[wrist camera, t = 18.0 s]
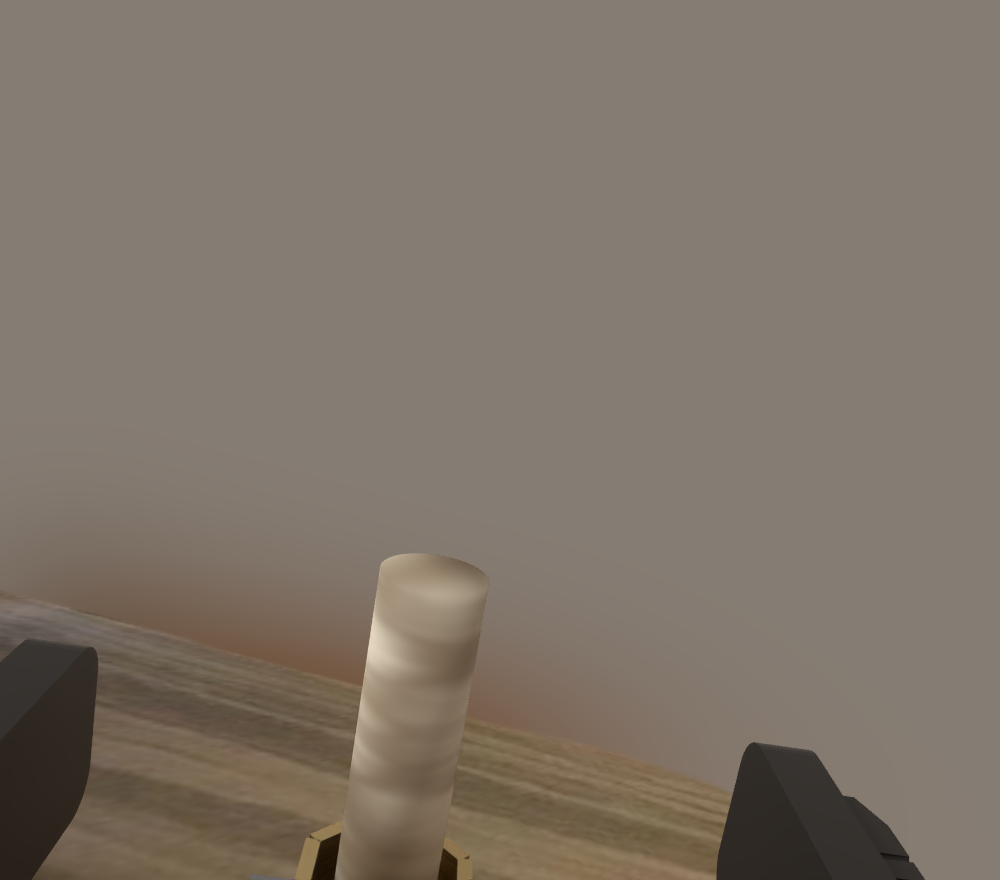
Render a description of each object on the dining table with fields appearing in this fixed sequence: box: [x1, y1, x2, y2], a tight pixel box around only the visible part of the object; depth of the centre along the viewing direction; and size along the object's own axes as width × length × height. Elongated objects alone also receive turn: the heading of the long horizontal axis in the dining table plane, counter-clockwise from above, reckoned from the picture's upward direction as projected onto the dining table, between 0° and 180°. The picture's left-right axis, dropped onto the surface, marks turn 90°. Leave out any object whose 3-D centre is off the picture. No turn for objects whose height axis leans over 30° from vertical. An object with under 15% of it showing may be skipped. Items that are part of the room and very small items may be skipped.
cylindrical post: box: [334, 554, 489, 880], centre depth 36 cm, size 4×4×16 cm
